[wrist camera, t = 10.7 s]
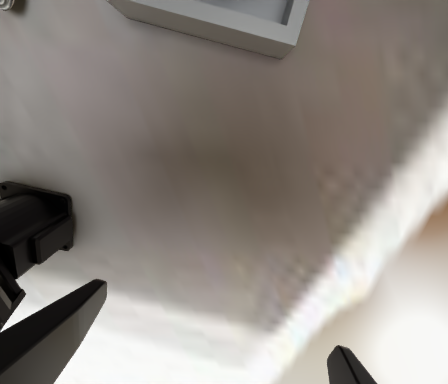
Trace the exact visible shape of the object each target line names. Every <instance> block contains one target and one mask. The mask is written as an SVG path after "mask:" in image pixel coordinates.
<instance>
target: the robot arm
mask: <svg viewBox="0 0 448 384" xmlns="http://www.w3.org/2000/svg"><path fill="white" fill-rule="evenodd" d="M0 196H1V199H0V331H1V330H2V328H3V326H4V325H5V323H6V322H7V320H8V319H9V318H10V316H11V315H12V313H13V312H14V311H15V309H16V308H17V306H18V305H19V304H20V302H21V301H22V299H23V298H24V297H25V295H26V293H25V291H24V290H23V289H21V288H20V286H19V285H18V283H17V282H16V279H18V278H19V277H20V276H22V275H23V274H24V273H25V272H27V271H28V270H29V269H30V268H32V267H33V266H34V265H35V264H38V265H40V264H41V263H43V262H44V261H45V260H47V259H48V258H49V257H50V256H52V255H53V254H54V253H55V252H56V251H58V250H64V251H69V250H70V249H71V248H72V238H73V234H72V218H71V199H70V197H69V196H68V195H65V194H61V193H56V192H52V191H47V190H43V189H38V188H34V187H30V186H25V185H21V184H16V183H12V182H8V181H5V182H2V183H0ZM63 199H64V200H65V201H64V200H63ZM106 297H107V282H106V281H104V280H100V279H94V280H92V281H91V282H89V283H87V284H85V285H84V286H82V287H80V288H78V289H76V290H75V291H73V292H71V293H69V294H68V295H66V296H64V297H62V298H61V299H59V300H57V301H55V302H53V303H52V304H50V305H48V306H46V307H45V308H43V309H41V310H39V311H38V312H36V313H34V314H32V315H30V316H29V317H27V318H25V319H23V320H22V321H20V322H18V323H16V324H14V325H13V326H11V327H9V328H7V329H6V330H4V331H2V332H0V384H53V383H54V382H55V381H56V379H57V378H58V376H59V375H60V373H61V372H62V371H63V369H64V368H65V366H66V365H67V363H68V362H69V361H70V359H71V358H72V356H73V355H74V353H75V352H76V350H77V349H78V347H79V346H80V344H81V343H82V341H83V339H84V338H85V336H86V334H87V332H88V331H89V329H90V327H91V325H92V324H93V322H94V320H95V318H96V317H97V315H98V313H99V311H100V310H101V308H102V306H103V304H104V302H105V300H106ZM327 367H328V375H329V382H330V384H377V383H376V382H375V381H374V379H373V378H372V377H371V375H370V374H369V373H368V371H367V370H366V369H365V368H364V366H363V365H362V364H361V363H360V361H359V360H358V359H357V357H356V356H355V355H354V354H353V353H352V351H351V350H350V349H349V348H347V347H343V346H340V345H338V346H336V347H335V348H334V350H333V351H332V352H331V354H330V355H329V357H328V359H327Z"/></svg>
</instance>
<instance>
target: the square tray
mask: <svg viewBox="0 0 448 384" xmlns="http://www.w3.org/2000/svg"><path fill="white" fill-rule="evenodd" d="M106 1H107V2H109V3H110V4H111V5H112V6H113V7H115V8H116V9H117V10H118V11H120V12H121V13H122V14H123V15H124V16H126V17H127V18H129V19H133V20H137V21H140V22H144V23H148V24H152V25H155V26H159V27H163V28H167V29H170V30H174V31H178V32H181V33H185V34H189V35H193V36H196V37H200V38H204V39H208V40H211V41H215V42H219V43H222V44H226V45H230V46H234V47H237V48H241V49H245V50H249V51H252V52H256V53H260V54H263V55H267V56H271V57H275V58H278V59H282V58H283V57H284V56H285V55H286V54H288V53H289V52H290V51H291V50H292V49H293V48H294V47H295V46H296V42H297V39H298V36H299V33H300V29H301V26H302V23H303V20H304V16H305V13H306V10H307V7H308V3H309V0H106Z"/></svg>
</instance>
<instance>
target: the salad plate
mask: <svg viewBox="0 0 448 384" xmlns="http://www.w3.org/2000/svg"><path fill="white" fill-rule="evenodd" d="M13 3H14V0H0V9H2V10H5V11H7V10H9V9H10V8H11V7H12V6H13Z"/></svg>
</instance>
